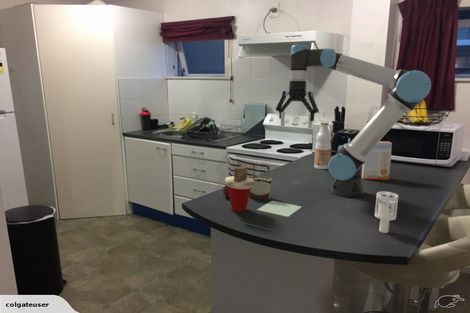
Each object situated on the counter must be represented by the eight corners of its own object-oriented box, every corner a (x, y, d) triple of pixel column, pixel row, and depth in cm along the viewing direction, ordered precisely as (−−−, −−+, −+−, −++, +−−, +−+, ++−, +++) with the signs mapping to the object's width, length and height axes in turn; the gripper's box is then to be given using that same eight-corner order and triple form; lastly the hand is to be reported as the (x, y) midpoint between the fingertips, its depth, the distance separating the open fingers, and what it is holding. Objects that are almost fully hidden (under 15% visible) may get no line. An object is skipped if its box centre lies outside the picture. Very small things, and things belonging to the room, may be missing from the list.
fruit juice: (311, 167, 226) (313, 122, 220) (319, 165, 233) (322, 121, 227) (324, 170, 220) (327, 124, 214) (332, 167, 226) (335, 123, 220)
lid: (259, 183, 149) (261, 168, 148) (245, 189, 139) (246, 173, 138) (235, 177, 155) (236, 162, 154) (219, 182, 145) (220, 166, 144)
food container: (275, 197, 167) (275, 176, 165) (272, 201, 162) (272, 179, 160) (249, 194, 171) (250, 174, 169) (245, 198, 166) (246, 177, 164)
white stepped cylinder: (373, 233, 129) (377, 192, 126) (373, 226, 135) (377, 187, 132) (394, 236, 127) (399, 195, 123) (393, 229, 133) (398, 189, 130)
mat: (301, 208, 154) (301, 206, 154) (287, 218, 142) (288, 216, 142) (272, 201, 161) (272, 200, 161) (256, 211, 150) (256, 209, 150)
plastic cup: (250, 216, 143) (250, 187, 141) (223, 214, 145) (223, 185, 143) (254, 207, 154) (254, 180, 151) (229, 205, 156) (229, 178, 153)
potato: (229, 193, 172) (229, 181, 171) (245, 198, 166) (245, 185, 165) (218, 197, 167) (218, 184, 166) (235, 202, 161) (235, 188, 159)
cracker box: (385, 177, 204) (389, 140, 200) (388, 180, 199) (392, 142, 194) (360, 176, 206) (363, 140, 201) (362, 179, 200) (365, 142, 196)
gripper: (327, 80, 161) (324, 128, 165) (276, 80, 174) (275, 124, 178) (321, 80, 154) (319, 130, 159) (269, 80, 167) (268, 125, 172)
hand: (295, 127), depth 168 cm, fingers open, 13 cm apart
